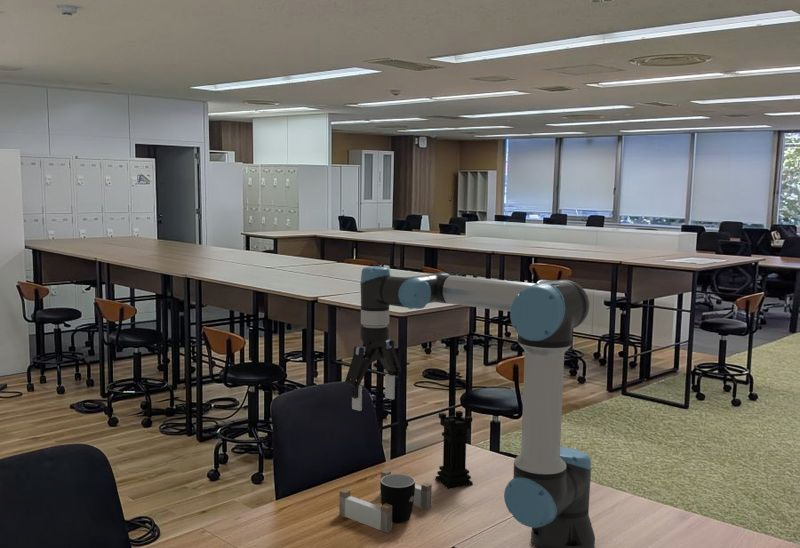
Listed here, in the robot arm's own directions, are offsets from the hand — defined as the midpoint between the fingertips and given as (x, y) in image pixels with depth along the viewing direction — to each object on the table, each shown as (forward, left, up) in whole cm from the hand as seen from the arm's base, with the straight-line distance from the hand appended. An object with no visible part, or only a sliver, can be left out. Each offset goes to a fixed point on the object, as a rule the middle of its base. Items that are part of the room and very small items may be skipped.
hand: (373, 404), depth 191 cm
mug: (-9, +1, -28) cm, 30 cm away
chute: (-5, +1, -28) cm, 28 cm away
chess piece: (-8, -27, -28) cm, 40 cm away
